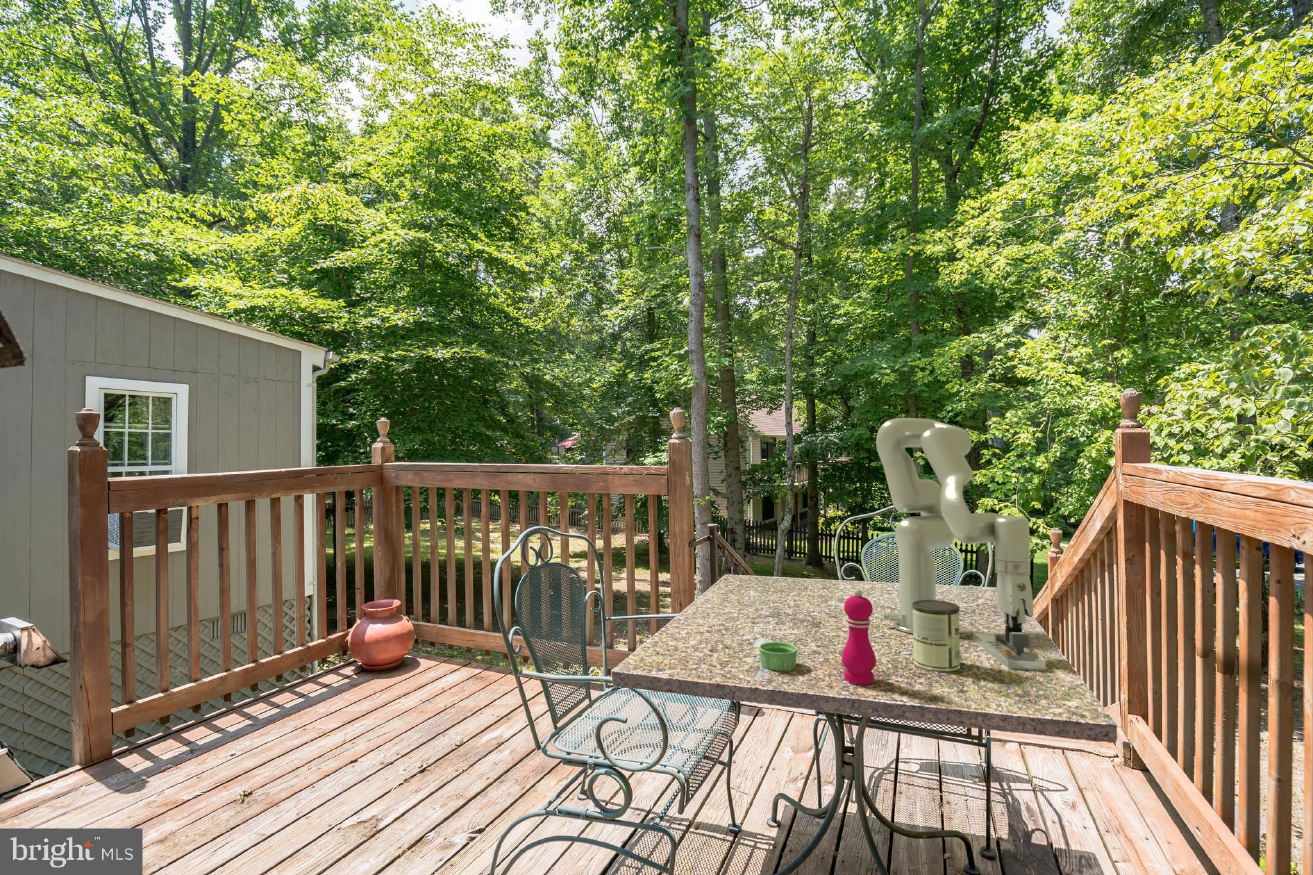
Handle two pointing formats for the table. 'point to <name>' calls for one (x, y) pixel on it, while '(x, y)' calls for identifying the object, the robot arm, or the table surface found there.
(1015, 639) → the fader tab
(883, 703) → the table surface
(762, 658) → the ramekin
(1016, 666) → the console
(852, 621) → the pepper mill
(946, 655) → the coffee can
